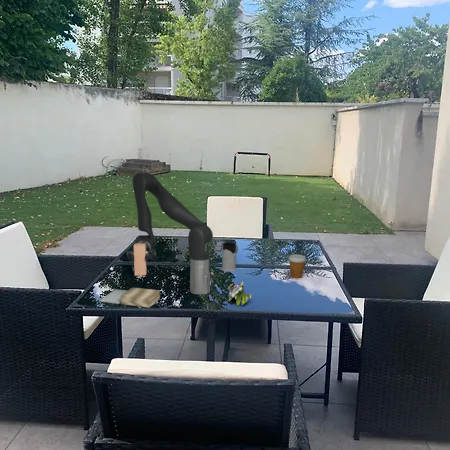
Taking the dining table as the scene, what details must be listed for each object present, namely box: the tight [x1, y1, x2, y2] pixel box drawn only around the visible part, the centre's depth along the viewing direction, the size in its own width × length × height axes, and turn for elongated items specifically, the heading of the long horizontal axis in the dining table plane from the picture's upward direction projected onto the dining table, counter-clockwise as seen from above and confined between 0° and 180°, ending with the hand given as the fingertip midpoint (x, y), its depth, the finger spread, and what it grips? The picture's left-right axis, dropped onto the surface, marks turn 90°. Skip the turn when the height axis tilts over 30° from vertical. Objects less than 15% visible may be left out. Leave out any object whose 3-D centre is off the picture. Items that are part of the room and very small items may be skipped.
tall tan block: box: [133, 243, 148, 276], centre depth 207 cm, size 5×4×14 cm
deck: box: [120, 287, 161, 308], centre depth 210 cm, size 14×12×4 cm
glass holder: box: [221, 242, 238, 272], centre depth 266 cm, size 9×14×15 cm, turn 152°
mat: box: [98, 288, 128, 305], centre depth 216 cm, size 10×16×1 cm, turn 165°
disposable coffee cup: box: [288, 254, 307, 279], centre depth 251 cm, size 10×10×12 cm
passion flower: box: [226, 281, 252, 307], centre depth 212 cm, size 11×11×12 cm
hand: (139, 258), depth 204 cm, fingers closed on tall tan block, 5 cm apart
